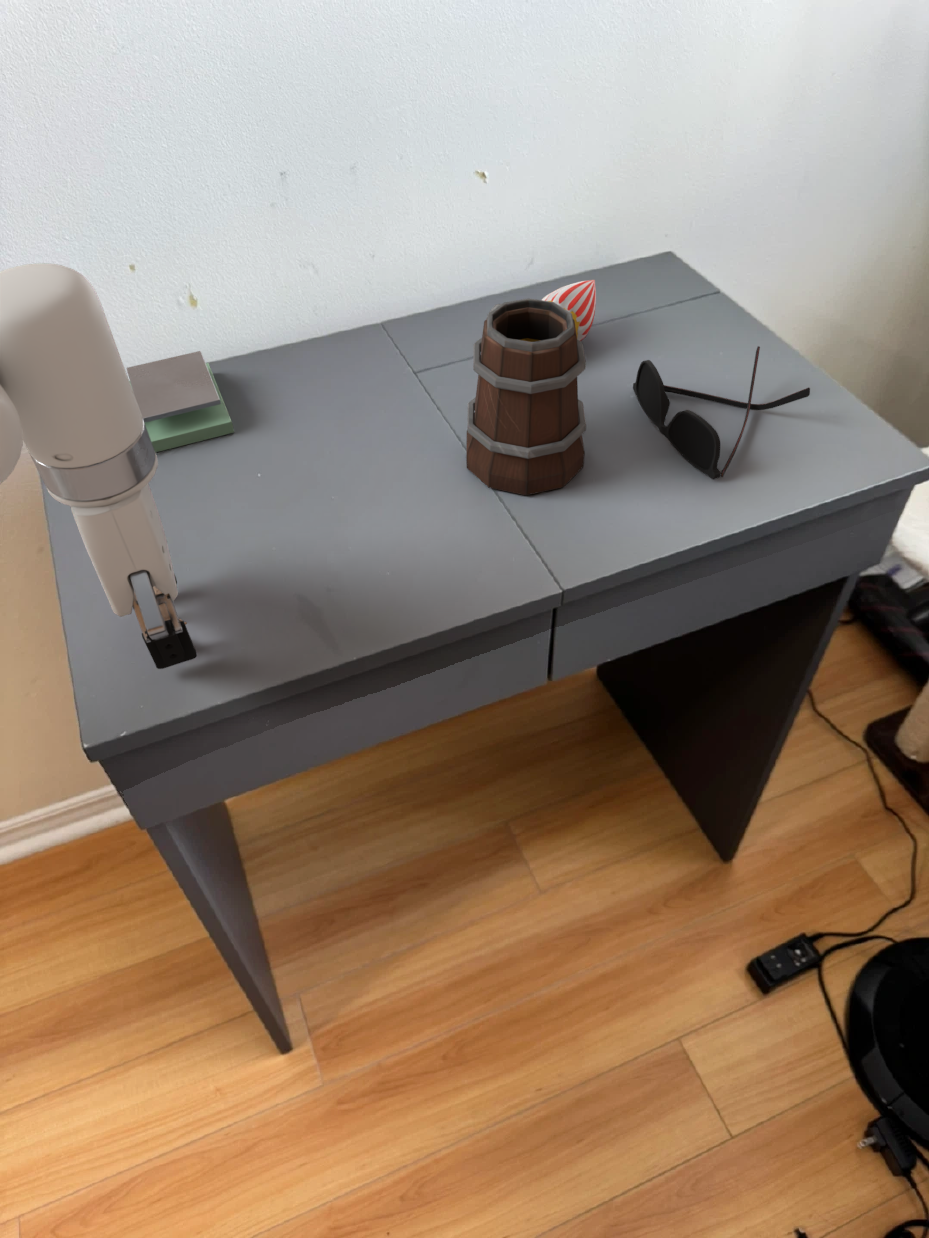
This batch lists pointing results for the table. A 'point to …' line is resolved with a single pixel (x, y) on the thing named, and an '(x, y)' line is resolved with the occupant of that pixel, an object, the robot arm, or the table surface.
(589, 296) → the ice cream cone
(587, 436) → the table surface
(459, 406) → the table surface
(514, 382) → the wooden bucket
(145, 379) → the brushed metal plate
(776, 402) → the sunglasses
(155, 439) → the scale
